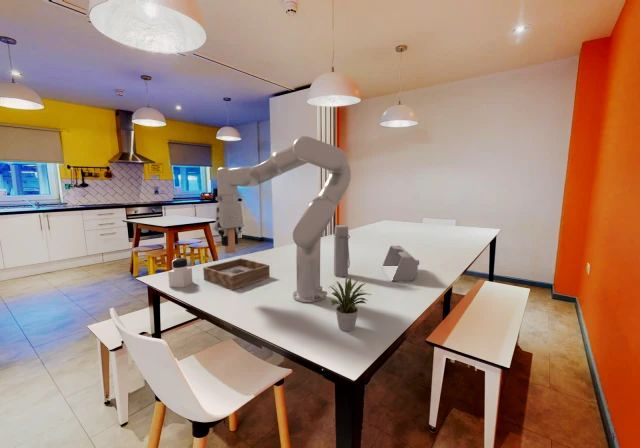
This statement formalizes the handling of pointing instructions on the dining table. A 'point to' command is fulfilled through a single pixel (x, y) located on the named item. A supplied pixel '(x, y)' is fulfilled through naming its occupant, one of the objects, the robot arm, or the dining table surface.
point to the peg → (230, 241)
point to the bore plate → (235, 270)
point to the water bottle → (341, 251)
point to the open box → (236, 280)
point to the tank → (401, 263)
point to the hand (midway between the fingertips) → (230, 244)
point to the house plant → (347, 305)
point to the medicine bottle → (180, 273)
